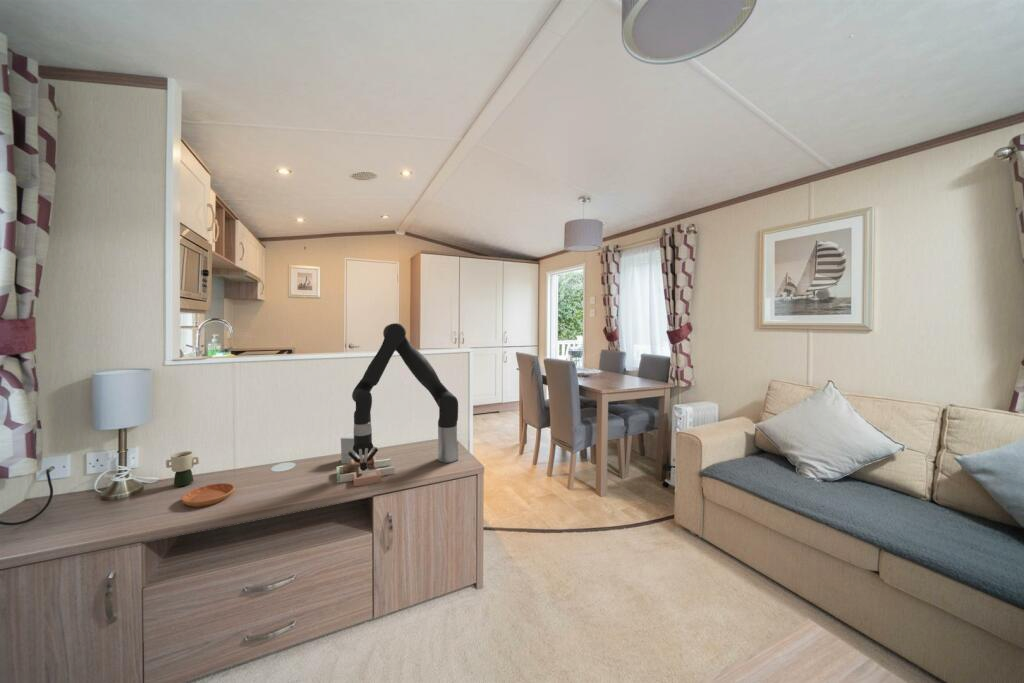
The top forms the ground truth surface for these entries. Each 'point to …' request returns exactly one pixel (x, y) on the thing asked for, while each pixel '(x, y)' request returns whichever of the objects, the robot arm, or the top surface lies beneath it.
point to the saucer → (208, 495)
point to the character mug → (182, 467)
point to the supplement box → (347, 448)
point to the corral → (366, 479)
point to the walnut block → (351, 468)
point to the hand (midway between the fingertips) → (363, 470)
